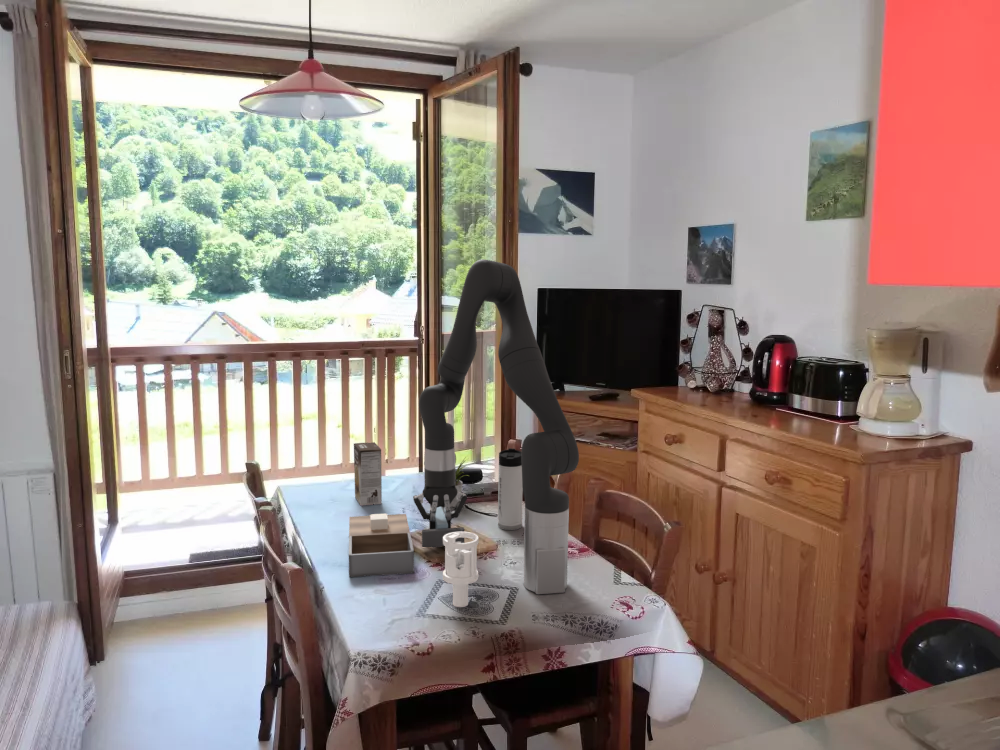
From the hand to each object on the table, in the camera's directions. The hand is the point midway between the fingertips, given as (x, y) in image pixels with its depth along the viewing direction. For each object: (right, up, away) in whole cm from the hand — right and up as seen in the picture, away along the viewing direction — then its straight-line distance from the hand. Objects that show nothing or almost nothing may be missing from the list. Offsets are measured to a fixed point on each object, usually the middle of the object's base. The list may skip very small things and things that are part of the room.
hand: (440, 534), depth 189 cm
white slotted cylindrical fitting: (+7, -7, -35) cm, 36 cm away
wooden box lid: (-15, -2, -3) cm, 15 cm away
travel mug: (+17, 0, +11) cm, 21 cm away
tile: (-14, +3, -5) cm, 15 cm away
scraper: (0, -1, +2) cm, 2 cm away
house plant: (0, +2, +30) cm, 30 cm away
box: (-12, -4, -15) cm, 20 cm away
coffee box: (-23, +3, +32) cm, 40 cm away
